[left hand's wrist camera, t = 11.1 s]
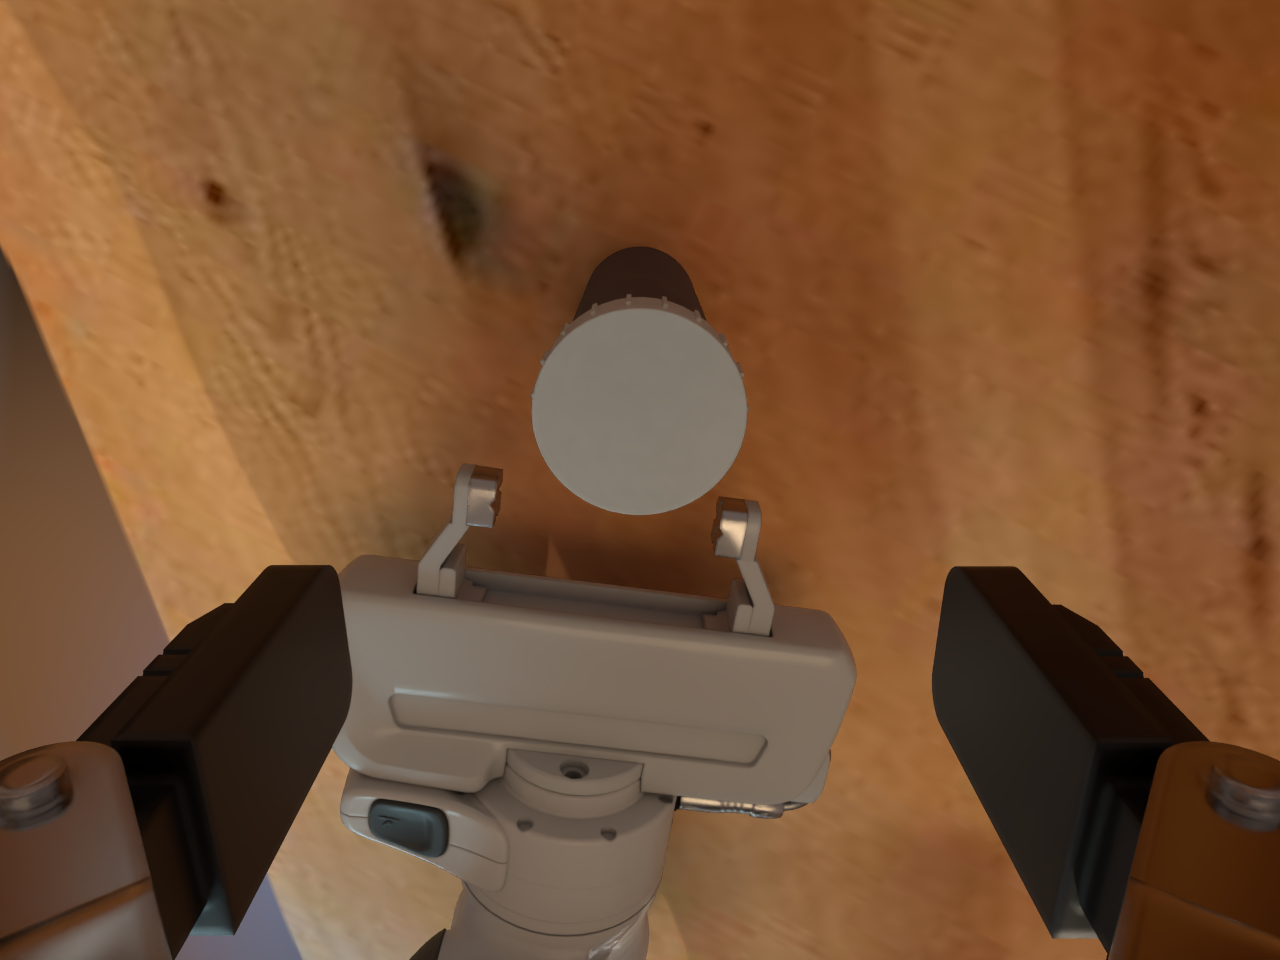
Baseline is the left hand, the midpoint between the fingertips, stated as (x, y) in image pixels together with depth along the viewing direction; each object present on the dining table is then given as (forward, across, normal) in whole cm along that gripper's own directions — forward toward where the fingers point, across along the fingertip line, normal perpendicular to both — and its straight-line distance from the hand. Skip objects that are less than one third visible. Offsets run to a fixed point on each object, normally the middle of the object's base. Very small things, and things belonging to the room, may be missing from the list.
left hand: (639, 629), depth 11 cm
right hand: (+19, +1, +6) cm, 20 cm away
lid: (+10, 0, 0) cm, 10 cm away
